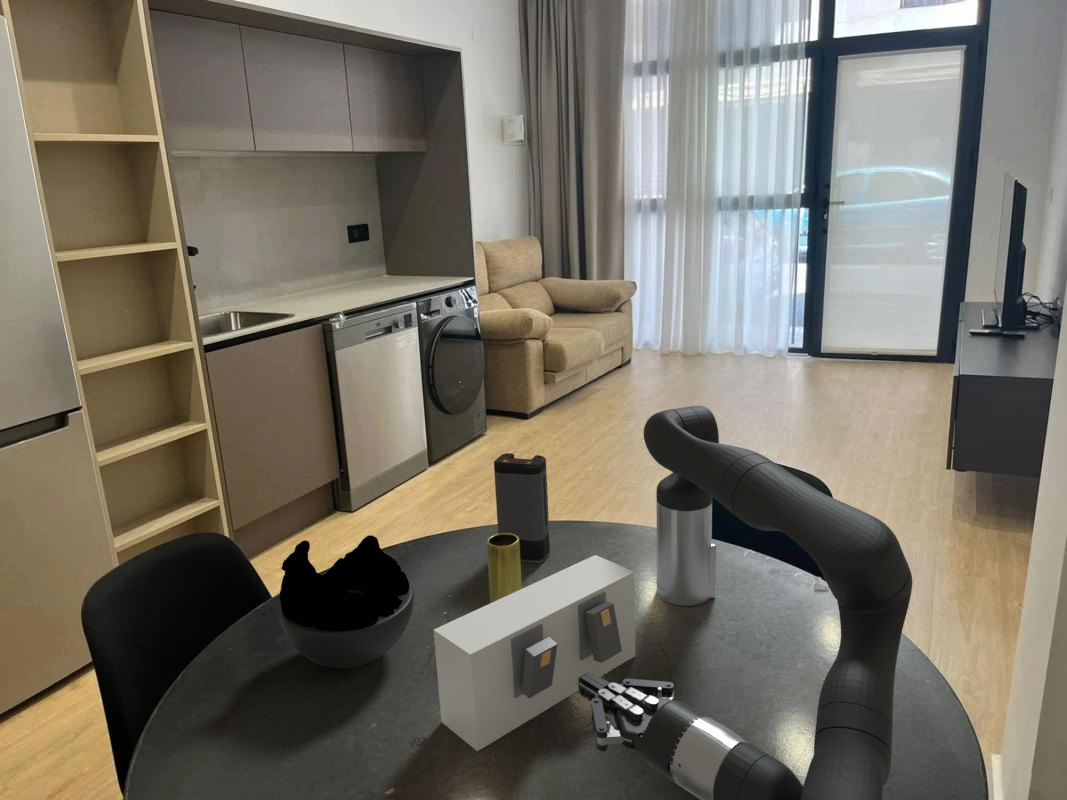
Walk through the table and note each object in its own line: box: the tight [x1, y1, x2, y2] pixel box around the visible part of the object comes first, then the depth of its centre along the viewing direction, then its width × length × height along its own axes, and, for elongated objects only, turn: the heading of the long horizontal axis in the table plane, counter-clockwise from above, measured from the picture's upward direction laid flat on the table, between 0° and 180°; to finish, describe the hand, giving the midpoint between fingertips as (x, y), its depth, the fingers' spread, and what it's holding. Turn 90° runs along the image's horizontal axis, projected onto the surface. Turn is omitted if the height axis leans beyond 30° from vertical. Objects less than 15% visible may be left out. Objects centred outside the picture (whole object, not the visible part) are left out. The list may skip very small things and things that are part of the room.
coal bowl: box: [278, 534, 415, 669], centre depth 120 cm, size 20×20×19 cm
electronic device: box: [493, 452, 551, 564], centre depth 151 cm, size 9×6×20 cm, turn 71°
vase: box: [486, 533, 523, 604], centre depth 130 cm, size 6×6×14 cm
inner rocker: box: [585, 602, 622, 663], centre depth 109 cm, size 2×4×7 cm, turn 131°
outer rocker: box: [521, 637, 557, 698], centre depth 102 cm, size 2×4×7 cm, turn 131°
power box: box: [433, 554, 636, 752], centre depth 111 cm, size 8×30×14 cm, turn 131°
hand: (582, 681), depth 96 cm, fingers closed
